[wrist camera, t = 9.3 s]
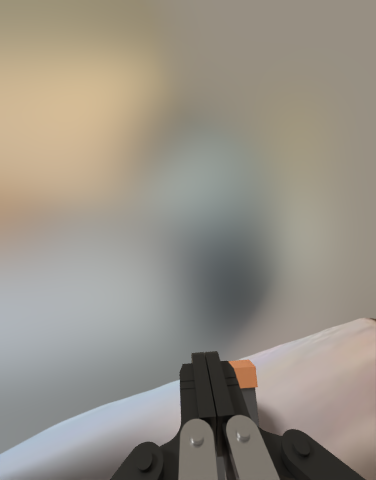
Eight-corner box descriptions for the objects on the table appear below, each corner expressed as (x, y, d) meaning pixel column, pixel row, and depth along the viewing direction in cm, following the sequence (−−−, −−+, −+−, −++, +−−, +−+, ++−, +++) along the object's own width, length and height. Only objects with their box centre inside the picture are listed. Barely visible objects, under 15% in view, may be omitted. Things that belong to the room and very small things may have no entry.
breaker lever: (274, 537, 20) (255, 366, 23) (219, 543, 20) (208, 370, 23) (264, 510, 22) (248, 359, 26) (215, 516, 22) (205, 362, 25)
